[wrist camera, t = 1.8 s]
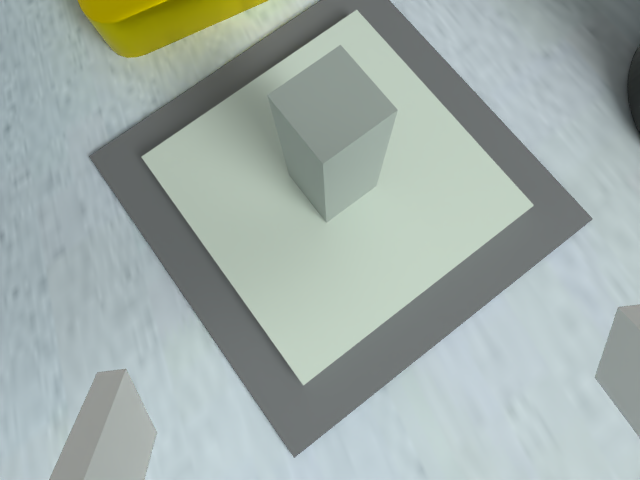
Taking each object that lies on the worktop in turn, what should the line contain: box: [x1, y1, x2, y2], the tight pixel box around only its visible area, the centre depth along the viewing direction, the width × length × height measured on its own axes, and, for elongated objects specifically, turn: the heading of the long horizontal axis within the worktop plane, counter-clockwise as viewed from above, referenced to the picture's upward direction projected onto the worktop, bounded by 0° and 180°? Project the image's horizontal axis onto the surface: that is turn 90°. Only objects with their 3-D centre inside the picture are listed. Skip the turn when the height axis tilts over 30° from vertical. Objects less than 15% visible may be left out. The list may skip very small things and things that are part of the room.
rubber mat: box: [89, 0, 592, 458], centre depth 30 cm, size 24×24×1 cm
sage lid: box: [142, 10, 534, 385], centre depth 25 cm, size 18×18×11 cm
